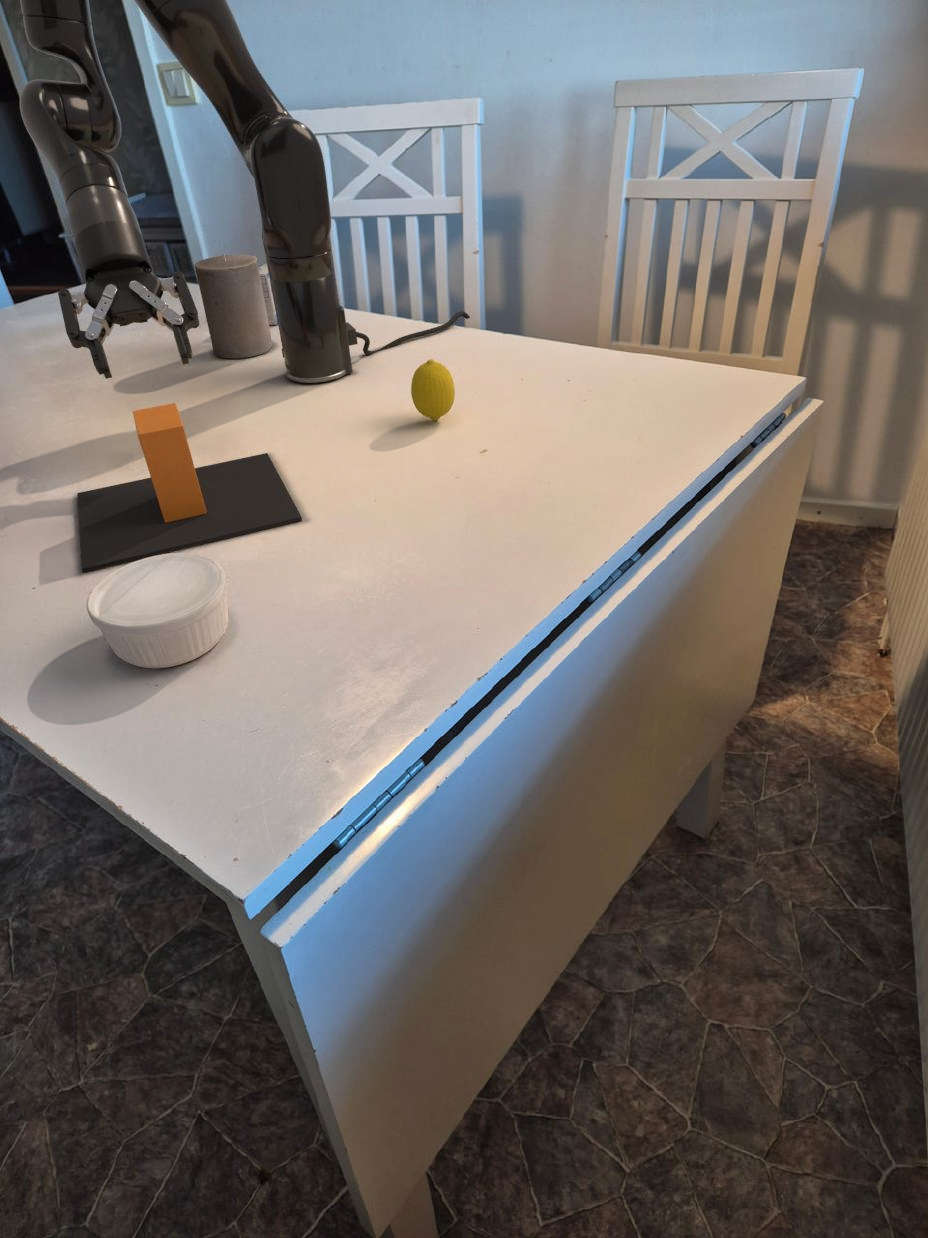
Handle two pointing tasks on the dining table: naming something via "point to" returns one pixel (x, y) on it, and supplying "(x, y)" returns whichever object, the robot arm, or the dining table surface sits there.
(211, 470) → the mat
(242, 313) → the pillar candle
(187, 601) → the ramekin
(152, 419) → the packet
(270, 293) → the medicine box
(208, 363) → the dining table surface
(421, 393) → the lemon
